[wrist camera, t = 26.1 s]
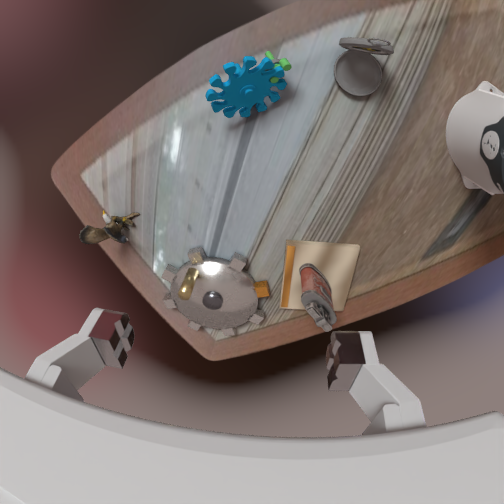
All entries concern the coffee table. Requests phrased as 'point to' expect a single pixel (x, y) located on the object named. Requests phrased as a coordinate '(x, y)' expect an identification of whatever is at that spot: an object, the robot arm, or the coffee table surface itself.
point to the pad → (327, 261)
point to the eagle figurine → (107, 230)
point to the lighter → (317, 296)
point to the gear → (248, 85)
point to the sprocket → (215, 292)
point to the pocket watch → (360, 65)
